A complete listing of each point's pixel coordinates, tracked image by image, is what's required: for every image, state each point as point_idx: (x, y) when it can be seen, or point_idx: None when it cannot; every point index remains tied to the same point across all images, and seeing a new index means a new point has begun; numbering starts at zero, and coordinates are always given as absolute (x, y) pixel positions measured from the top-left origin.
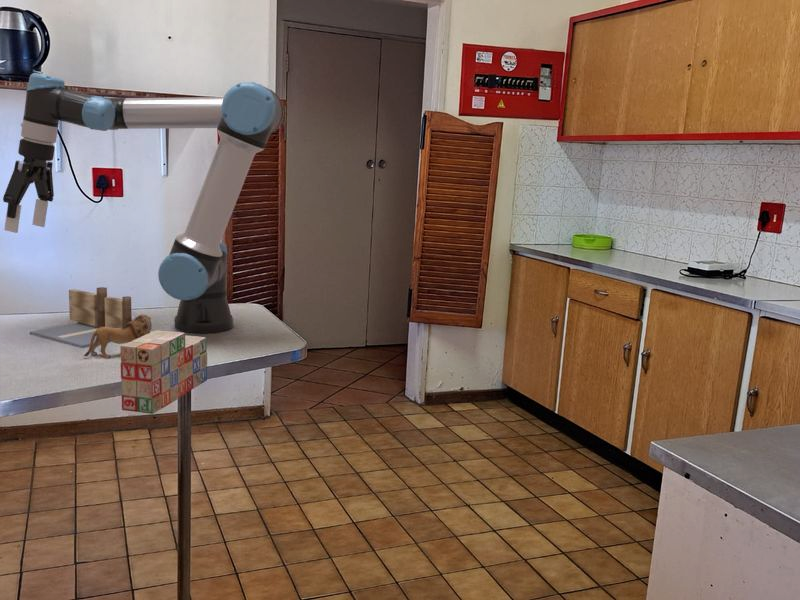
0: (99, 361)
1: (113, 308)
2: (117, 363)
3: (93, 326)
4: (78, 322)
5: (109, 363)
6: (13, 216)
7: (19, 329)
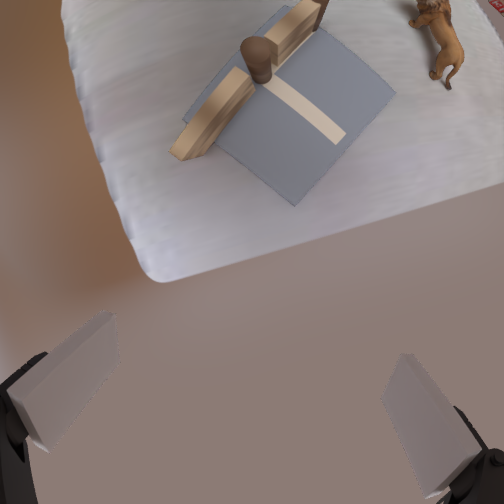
0: None
1: (298, 31)
2: None
3: None
4: None
5: None
6: (459, 412)
7: (258, 234)
